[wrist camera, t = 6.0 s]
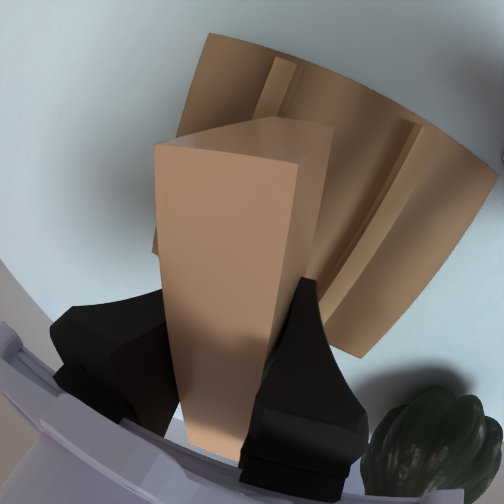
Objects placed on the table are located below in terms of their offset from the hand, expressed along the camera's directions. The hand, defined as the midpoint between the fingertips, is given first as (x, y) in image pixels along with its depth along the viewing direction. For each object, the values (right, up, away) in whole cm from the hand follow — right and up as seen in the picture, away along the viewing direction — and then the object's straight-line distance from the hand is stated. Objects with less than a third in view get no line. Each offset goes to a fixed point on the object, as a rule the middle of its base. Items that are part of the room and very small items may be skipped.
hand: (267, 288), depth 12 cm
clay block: (+1, +2, +2) cm, 3 cm away
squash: (+19, -15, +12) cm, 27 cm away
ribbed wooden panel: (+3, +4, +8) cm, 9 cm away
